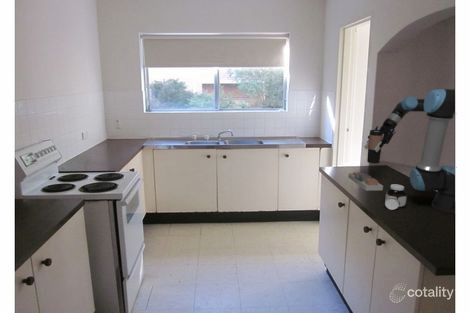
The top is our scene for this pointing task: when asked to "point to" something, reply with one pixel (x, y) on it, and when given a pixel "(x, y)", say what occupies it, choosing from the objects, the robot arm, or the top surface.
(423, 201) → the top surface
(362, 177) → the middle key
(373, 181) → the key
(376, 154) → the travel mug
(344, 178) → the top surface
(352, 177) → the grey tray
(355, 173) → the key
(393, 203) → the spread jar
